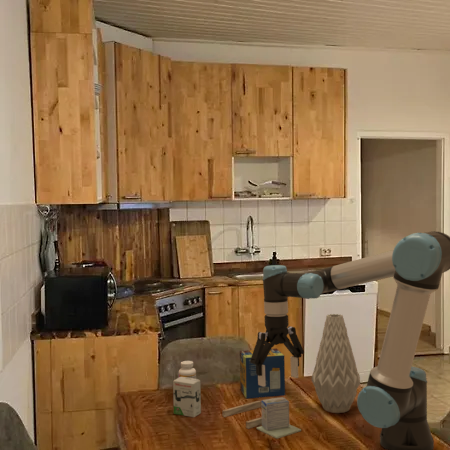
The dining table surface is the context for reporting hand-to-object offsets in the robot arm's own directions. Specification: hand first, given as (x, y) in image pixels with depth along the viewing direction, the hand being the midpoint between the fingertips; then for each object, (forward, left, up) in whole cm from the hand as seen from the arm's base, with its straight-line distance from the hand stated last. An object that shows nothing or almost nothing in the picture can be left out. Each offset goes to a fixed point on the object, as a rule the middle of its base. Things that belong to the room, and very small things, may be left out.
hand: (278, 381), depth 184 cm
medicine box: (+2, 0, -15) cm, 15 cm away
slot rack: (+14, -1, -16) cm, 21 cm away
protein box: (+32, -19, -16) cm, 41 cm away
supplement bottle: (+47, +5, -16) cm, 50 cm away
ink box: (+31, +15, -16) cm, 38 cm away
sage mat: (0, 0, -16) cm, 16 cm away
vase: (+2, -28, -16) cm, 32 cm away
